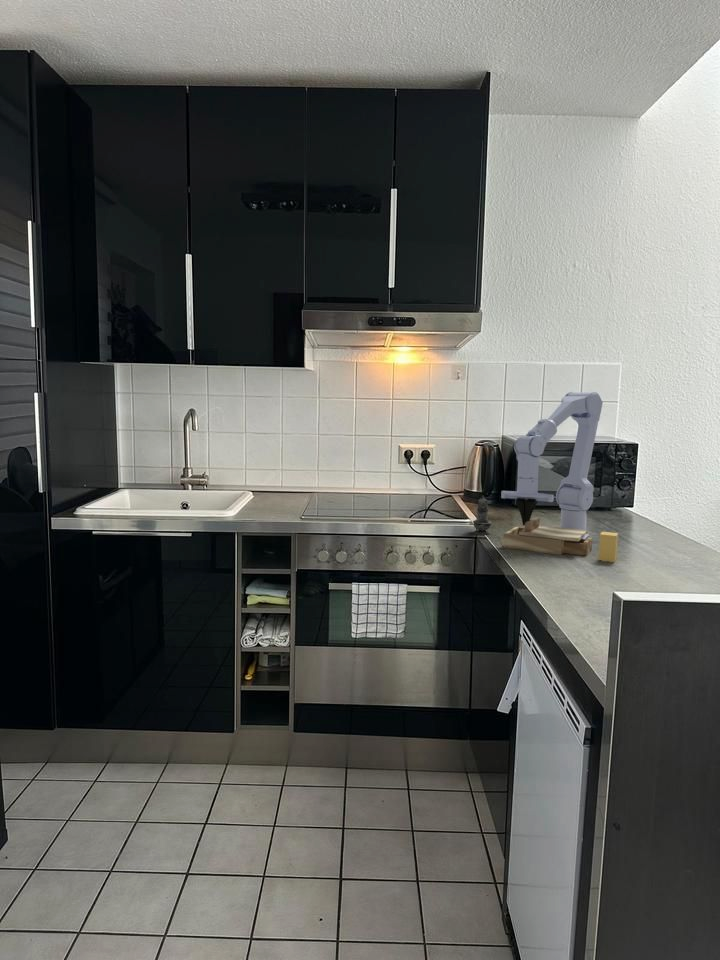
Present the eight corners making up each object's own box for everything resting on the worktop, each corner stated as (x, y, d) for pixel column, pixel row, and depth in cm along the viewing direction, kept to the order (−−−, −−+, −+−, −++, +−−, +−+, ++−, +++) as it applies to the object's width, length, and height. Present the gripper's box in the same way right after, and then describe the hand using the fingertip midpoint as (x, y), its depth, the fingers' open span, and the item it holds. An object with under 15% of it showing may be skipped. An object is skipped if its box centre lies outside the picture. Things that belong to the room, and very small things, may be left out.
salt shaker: (478, 530, 209) (479, 493, 208) (494, 533, 205) (496, 495, 204) (468, 533, 205) (470, 495, 203) (485, 535, 201) (487, 497, 200)
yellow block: (600, 557, 175) (602, 531, 174) (616, 559, 173) (618, 533, 172) (598, 560, 171) (599, 534, 170) (614, 562, 169) (616, 535, 168)
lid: (530, 527, 193) (531, 516, 193) (587, 533, 186) (587, 521, 185) (518, 534, 182) (519, 523, 182) (578, 541, 174) (578, 529, 174)
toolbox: (515, 539, 196) (516, 526, 195) (593, 548, 185) (594, 534, 185) (503, 547, 185) (503, 533, 184) (584, 557, 174) (585, 543, 173)
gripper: (498, 477, 186) (496, 524, 187) (550, 480, 179) (548, 529, 180) (505, 475, 192) (504, 520, 193) (556, 478, 185) (553, 525, 186)
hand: (525, 524), depth 187 cm, fingers closed
